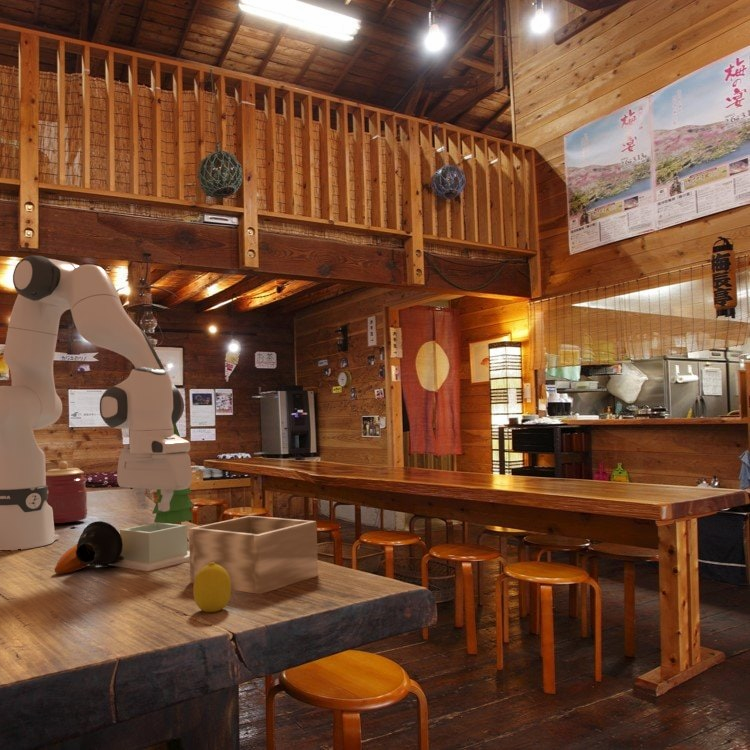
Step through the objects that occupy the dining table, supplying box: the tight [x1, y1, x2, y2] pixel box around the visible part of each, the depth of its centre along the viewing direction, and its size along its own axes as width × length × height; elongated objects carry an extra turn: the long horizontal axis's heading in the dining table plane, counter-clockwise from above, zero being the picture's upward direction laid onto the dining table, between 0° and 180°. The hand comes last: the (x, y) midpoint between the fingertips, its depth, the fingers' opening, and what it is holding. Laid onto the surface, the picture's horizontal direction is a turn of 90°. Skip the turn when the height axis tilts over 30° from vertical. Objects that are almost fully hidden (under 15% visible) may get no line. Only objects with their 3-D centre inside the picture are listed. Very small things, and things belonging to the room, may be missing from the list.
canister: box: [46, 460, 88, 524], centre depth 201 cm, size 13×13×18 cm
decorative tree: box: [151, 423, 195, 542], centre depth 161 cm, size 10×9×30 cm
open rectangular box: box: [108, 522, 190, 572], centre depth 139 cm, size 14×14×7 cm
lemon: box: [192, 562, 232, 613], centre depth 100 cm, size 6×6×8 cm
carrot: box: [53, 543, 94, 575], centre depth 134 cm, size 5×5×15 cm
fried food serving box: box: [188, 515, 319, 595], centre depth 120 cm, size 17×15×10 cm
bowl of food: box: [76, 520, 124, 568], centre depth 135 cm, size 9×11×18 cm
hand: (153, 510), depth 140 cm, fingers open, 5 cm apart
